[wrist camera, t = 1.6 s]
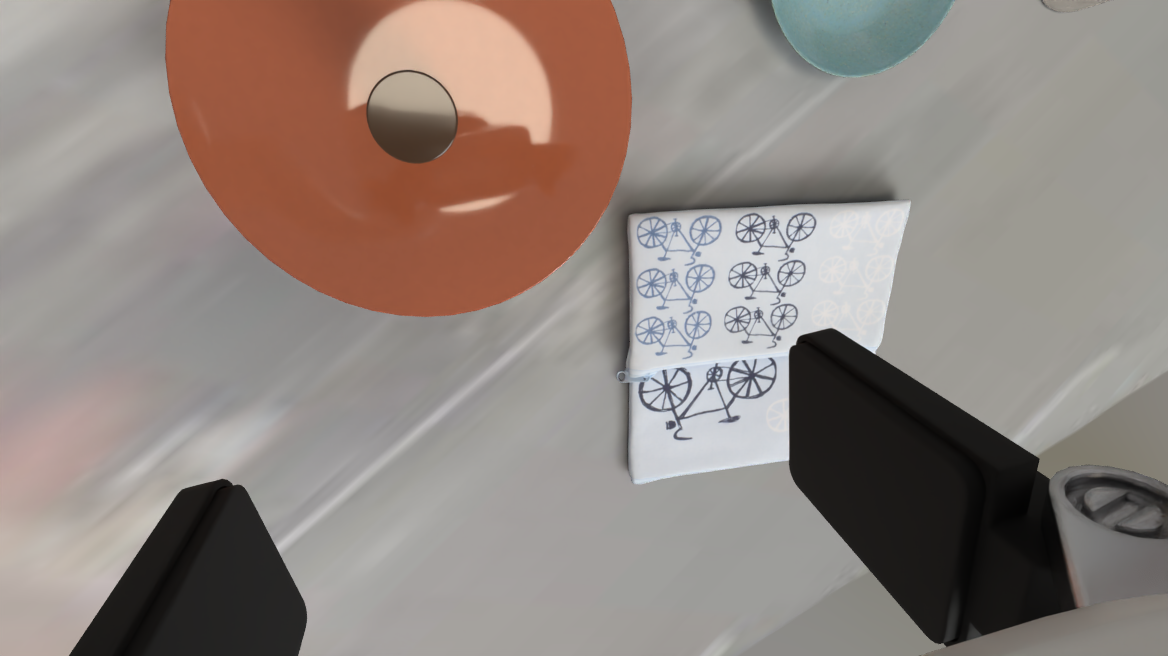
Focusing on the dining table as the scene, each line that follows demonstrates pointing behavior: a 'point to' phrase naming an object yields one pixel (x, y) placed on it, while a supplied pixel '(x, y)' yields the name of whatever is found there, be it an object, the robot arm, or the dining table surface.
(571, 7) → the lid
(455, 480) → the dining table surface
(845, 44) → the saucer
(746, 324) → the white flat patterned piece
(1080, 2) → the beer glass
